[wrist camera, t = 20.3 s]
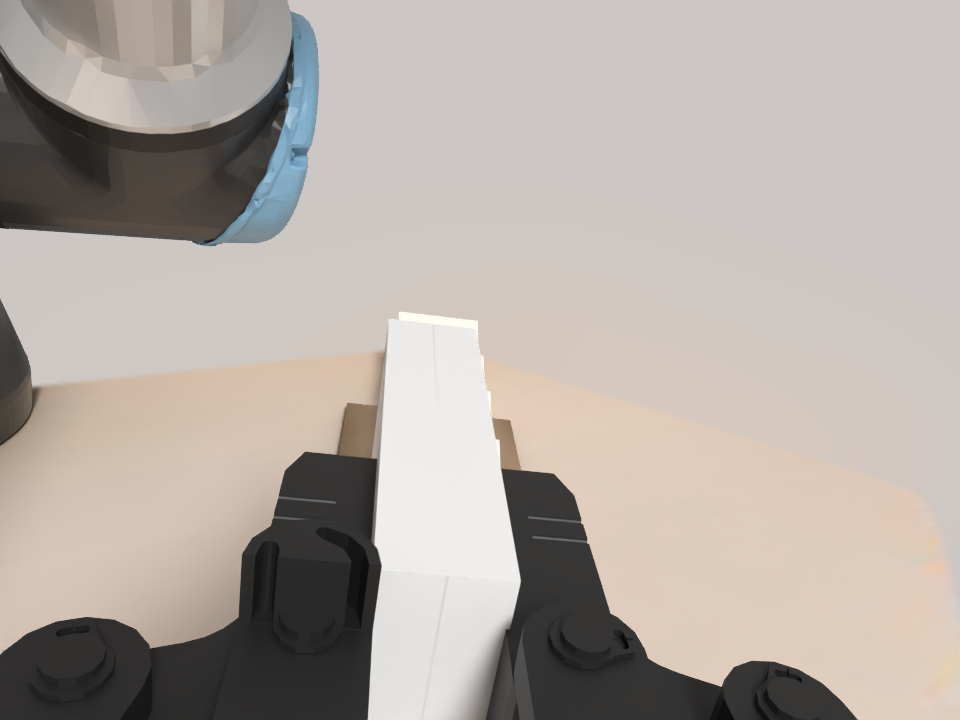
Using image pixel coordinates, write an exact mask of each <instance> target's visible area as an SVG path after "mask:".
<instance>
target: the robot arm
mask: <svg viewBox="0 0 960 720" xmlns="http://www.w3.org/2000/svg"><path fill="white" fill-rule="evenodd" d="M318 89H319V66H318V49H317V43H316V38H315V34H314V31H313V28H312V27H311V25H310V23H309V22H308V21H307V20H306V19H305V18H304V17H303V16H301V15H299V14H296V13H293V12H291V11H290V9H289V5H288V2H287V0H0V228H5V229H24V230H39V231H54V232H69V233H84V234H98V235H114V236H128V237H143V238H158V239H173V240H188V241H192V242H194V243H196V244H200V245H204V246H216V245H217V244H222V243H260V242H263V241H267V240H269V239H271V238H273V237H275V236H276V235H277V234H279V233H280V232H281V231H282V230H283V229H284V227H285V226H286V225H287V223H288V222H289V220H290V218H291V217H292V215H293V212H294V210H295V208H296V206H297V203H298V200H299V197H300V194H301V191H302V189H303V185H304V181H305V177H306V173H307V168H308V161H307V160H308V157H307V152H308V150H309V148H310V147H311V145H312V140H313V136H314V130H315V123H316V114H317V104H318ZM32 403H33V400H32V384H31V369H30V365H29V361H28V358H27V355H26V354H25V351H24V349H23V347H22V345H21V342H20V340H19V338H18V336H17V334H16V332H15V329H14V327H13V325H12V323H11V321H10V319H9V317H8V314H7V312H6V310H5V308H4V306H3V304H2V302H1V300H0V443H2V442H3V441H5V440H6V439H7V438H9V437H10V436H11V435H12V434H14V433H15V432H16V431H17V430H18V429H19V428H20V427H21V426H22V425H23V423H24V422H25V421H26V419H27V418H28V416H29V414H30V412H31V409H32ZM0 720H857V718H856V717H855V716H854V715H853V714H852V713H851V711H850V710H849V709H848V708H847V707H846V706H845V704H844V703H843V702H842V701H841V700H840V699H839V698H838V697H837V696H835V695H834V694H833V693H832V692H831V691H830V690H829V689H828V688H827V687H826V686H825V685H823V684H822V683H821V682H819V681H817V680H816V679H814V678H812V677H810V676H809V675H807V674H805V673H803V672H802V671H800V670H798V669H795V668H792V667H789V666H785V665H782V664H779V663H776V662H766V661H750V662H747V663H744V664H741V665H739V666H736V667H734V668H733V669H732V671H731V672H730V673H729V675H728V676H727V677H726V678H725V680H724V682H723V685H722V687H720V686H717V685H714V684H711V683H708V682H704V681H701V680H698V679H695V678H692V677H689V676H686V675H683V674H680V673H677V672H674V671H672V670H669V669H667V668H665V667H662V666H660V665H658V664H656V663H654V662H653V661H651V660H649V659H648V657H647V654H646V651H645V649H644V647H643V646H642V644H641V642H640V640H639V639H638V637H637V635H636V634H635V632H634V631H633V630H632V629H630V628H629V627H628V626H627V625H626V624H625V623H624V622H622V621H621V620H620V619H619V618H618V617H616V616H614V615H612V614H610V611H609V607H608V604H607V601H606V598H605V594H604V591H603V588H602V585H601V581H600V578H599V575H598V572H597V568H596V565H595V562H594V559H593V555H592V552H591V549H590V546H589V544H587V536H586V533H585V529H584V526H583V524H581V516H580V513H579V510H578V507H577V503H576V500H575V497H574V495H573V494H572V493H571V492H570V491H569V490H568V489H567V487H566V486H565V485H564V484H563V483H562V482H561V481H560V480H559V479H558V478H557V477H556V476H555V475H554V474H551V473H541V472H531V471H521V470H511V469H501V467H500V461H499V456H498V450H497V444H496V439H495V433H494V428H493V422H492V416H491V411H490V405H489V399H488V394H487V388H486V383H485V377H484V371H483V366H482V360H481V355H480V350H479V343H478V338H477V332H476V329H471V328H462V327H454V326H446V325H437V324H429V323H421V322H413V321H404V320H395V319H389V323H388V331H387V339H386V346H385V354H384V362H383V370H382V378H381V386H380V394H379V402H378V410H377V418H376V426H375V434H374V442H373V450H372V458H363V457H353V456H342V455H332V454H322V453H312V452H305V453H304V454H302V455H301V456H300V457H299V458H298V459H297V460H296V461H295V462H294V463H293V464H292V465H291V466H290V467H288V468H287V469H286V470H285V473H284V477H283V481H282V485H281V489H280V493H279V499H278V501H277V504H276V508H275V512H274V519H273V520H272V524H271V526H270V527H269V528H267V529H266V530H264V531H263V532H261V533H260V534H258V535H256V536H255V537H253V538H252V539H251V541H250V543H249V544H248V546H247V547H246V549H245V551H244V552H243V554H242V567H241V585H240V603H239V618H237V619H236V620H235V621H233V622H232V623H230V624H229V625H228V626H226V627H225V628H224V629H222V630H219V631H217V632H215V633H213V634H211V635H208V636H206V637H204V638H200V639H196V640H192V641H188V642H185V643H179V644H174V645H168V646H162V647H156V648H151V649H150V646H149V644H148V643H147V642H146V641H145V640H144V638H143V637H142V636H141V635H140V634H139V633H138V631H137V630H136V629H134V628H131V627H129V626H127V625H125V624H122V623H120V622H118V621H116V620H111V619H101V618H91V617H83V618H77V619H70V620H64V621H58V622H54V623H52V624H49V625H47V626H45V627H42V628H40V629H37V630H35V631H32V632H30V633H28V634H26V635H25V636H23V637H22V638H21V639H20V640H18V641H17V642H16V643H14V644H13V645H12V646H10V647H9V648H8V649H6V650H5V651H4V652H3V653H2V654H1V655H0Z"/></svg>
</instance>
